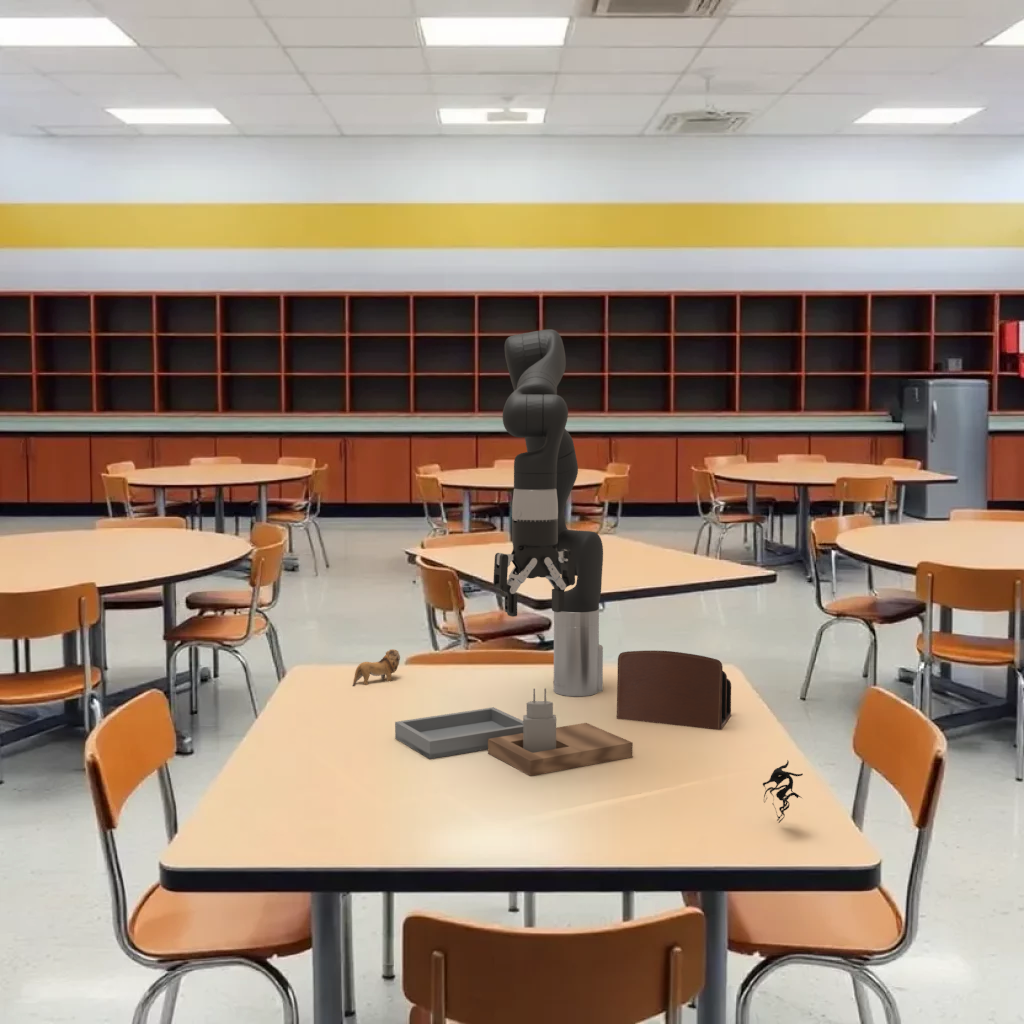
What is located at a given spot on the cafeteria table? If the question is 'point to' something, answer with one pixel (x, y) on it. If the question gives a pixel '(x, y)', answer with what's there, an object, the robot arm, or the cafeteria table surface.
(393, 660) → the lion figurine
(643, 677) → the letter holder
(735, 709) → the cafeteria table surface
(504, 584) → the robot arm
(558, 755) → the dock board
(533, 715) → the power adapter
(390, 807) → the cafeteria table surface
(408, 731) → the tray
